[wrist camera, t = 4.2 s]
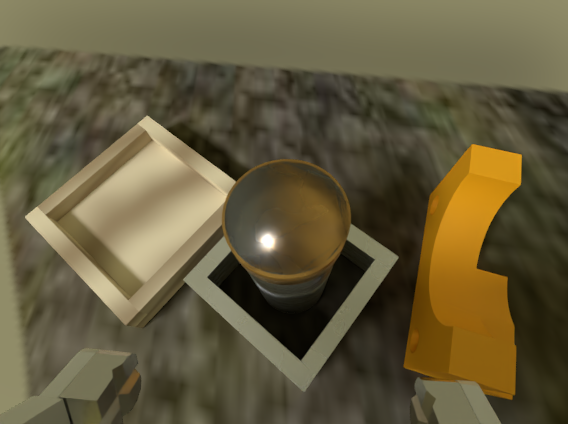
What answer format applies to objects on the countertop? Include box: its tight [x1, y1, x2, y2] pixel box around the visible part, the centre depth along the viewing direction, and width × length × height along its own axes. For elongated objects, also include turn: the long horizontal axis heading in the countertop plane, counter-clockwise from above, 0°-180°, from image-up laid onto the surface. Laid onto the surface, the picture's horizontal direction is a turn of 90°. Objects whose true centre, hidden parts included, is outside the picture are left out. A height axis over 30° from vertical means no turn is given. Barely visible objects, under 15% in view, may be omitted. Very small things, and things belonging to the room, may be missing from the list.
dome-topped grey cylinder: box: [222, 159, 351, 314], centre depth 16 cm, size 5×5×11 cm
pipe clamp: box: [404, 144, 522, 400], centre depth 18 cm, size 12×4×6 cm, turn 162°
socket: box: [183, 224, 399, 392], centre depth 20 cm, size 9×9×3 cm
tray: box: [25, 116, 236, 328], centre depth 23 cm, size 11×11×2 cm
